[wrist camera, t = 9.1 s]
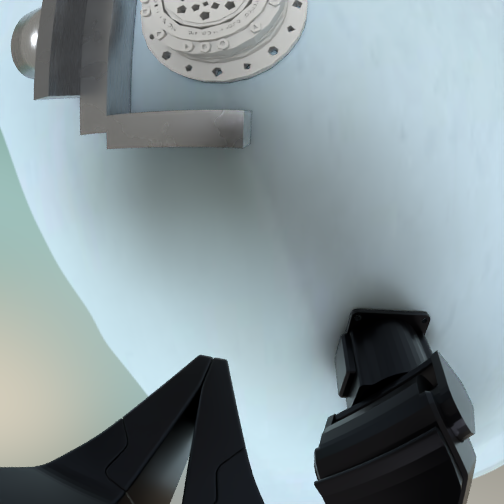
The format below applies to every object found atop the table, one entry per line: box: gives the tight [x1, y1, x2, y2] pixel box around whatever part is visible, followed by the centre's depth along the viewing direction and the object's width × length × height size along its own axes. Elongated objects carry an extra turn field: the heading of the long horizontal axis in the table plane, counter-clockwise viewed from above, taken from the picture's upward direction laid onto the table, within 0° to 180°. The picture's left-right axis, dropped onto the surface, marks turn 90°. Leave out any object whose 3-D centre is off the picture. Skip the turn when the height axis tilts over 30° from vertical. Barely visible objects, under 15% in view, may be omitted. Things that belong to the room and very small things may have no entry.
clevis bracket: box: [11, 0, 252, 149], centre depth 13 cm, size 14×16×6 cm
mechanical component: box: [140, 0, 307, 83], centre depth 13 cm, size 10×4×10 cm
